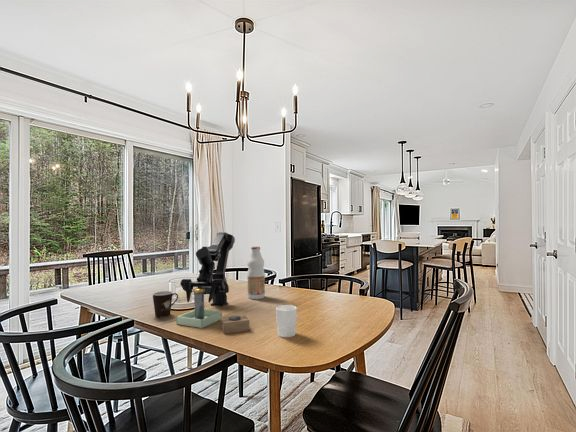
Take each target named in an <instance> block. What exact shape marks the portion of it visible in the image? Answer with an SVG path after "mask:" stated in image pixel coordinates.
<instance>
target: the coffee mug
mask: <svg viewBox="0 0 576 432" xmlns="http://www.w3.org/2000/svg"><path fill="white" fill-rule="evenodd" d="M174 295H175V296H176V299H175V300H174V301H173V296H174ZM178 299H179V294H178V293H177V292H176V293H175V292H174V293H173V291H171V290H162V291H156V292H153V293H152V300H153V309H154V314H155V315H154V317H156V318H165V317H169V316H171V313H172V312H171V311H172V306H173V305H175V304H176V302H177V301H178Z"/></svg>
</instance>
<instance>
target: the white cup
mask: <svg viewBox="0 0 576 432" xmlns="http://www.w3.org/2000/svg"><path fill="white" fill-rule="evenodd" d="M297 309H298V308H297V307H296V305H291V304H285V305H284V304H282V305H278V306H276V307H275V318H276V328H277V336H279V337H281V338H292V337H294V336H296V333H297V332H296V330H297V314H298V312H297V311H298V310H297Z"/></svg>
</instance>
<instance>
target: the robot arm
mask: <svg viewBox="0 0 576 432" xmlns="http://www.w3.org/2000/svg"><path fill="white" fill-rule="evenodd" d="M235 238H236V237H235V236H233V234H230V233H227V232H225V231H224V232H222V231H220V232H217V233H216V236H215V238H214V239H213V242H212V243H211V244H210V246H202V247H201V248H199V249H197V250H196V251H195V255H196V258H197V260H198V263H199V264H200V265H201V267H200V269H199V270H198V273H199V274H198V277H196V281H192V279H191V278H183V279H181V281H180V286H181V288H182V290H183V291H185V293H186V295H185V296H186V301H187V303H190V300H191V296H192V293H193V289H194V288H204V289H205V292H204V296H205V295H209V296H208V303H210V306H216V307H217V306H218V307H222V306H225V305H227V304H229V302H228V296H227V293H229V292H230V286H229V284H228V280H227V278H226V276H225V274H226V269H227V263H228V257H229V252H230V251H231V250H232V249H233V246H234V244H235V242H236V239H235ZM216 262H217V264H215V263H216ZM214 270H215V272H214ZM211 302H212V303H211Z"/></svg>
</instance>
